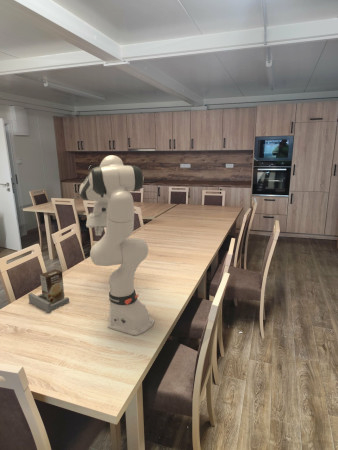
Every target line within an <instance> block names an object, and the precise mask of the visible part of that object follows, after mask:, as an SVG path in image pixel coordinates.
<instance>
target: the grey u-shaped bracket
mask: <svg viewBox="0 0 338 450" xmlns="http://www.w3.org/2000/svg"><path fill="white" fill-rule="evenodd" d="M27 295H28V302H29V303H30V305H31V304H32V305H33V306H35V307H37V308H38V309H40V310H42V311H44V312H46V313H47V314H50V313H52V311H54V310H56V309H58V308H60V307H62V306H65V305H67V304H69V303H70V298H69V297H65V298H64V299H62V300H60V301H58V302H56V303H54V304H50V303H49V302H47V301H46V300H44V299H43V297H42V293H40V294H38V295H36V294H33V292H30V293H28V294H27Z"/></svg>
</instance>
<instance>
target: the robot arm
mask: <svg viewBox="0 0 338 450" xmlns="http://www.w3.org/2000/svg"><path fill="white" fill-rule="evenodd" d="M144 179H145V178H144V173H143V171H142V168H140V167H139V166H136V165H133V164H132V165H131V164H129V165H125V164H124V162H123V160H122V159H121V158H120V157H119V156H117V155H113V154H112V155H107V156H105V157H104V158H103V159H102V161H101V162H100V164H99V165H98V166H96V167H93V168H91V170H90V172H89V173H88V175H87V176H86V177H85V179H84V180H83V182H81V184H80V186H79V190H78V191H79V192H78V193H79V196H80V197H81V198H82V200H84V201H94V204H93V210H92V211H91V212H90V213H88V215H87V219H86V222H85V223H86V224H85V226H86V228H89V229H94V231H95V236H97V237H98V236H102V233H103V231H104V229H106V230H105V232H104V234H103V236H102V237H101V238H100V239H99V240H98V241H97V242H96V243H94V244H92V247H91V249H90V251H89V257H90V259H91V261H92V263H93V264H94V265H95V266H97V267H98V266H99V267H111V266H119V267H118V268H117V269H115V270H114V271H112V272H111V273H110V275H109V278H108V280H109V281H108V283H109V290H108V291H109V292H108V298H109V309H108V310H109V311H108V318H107V321H108V322H107V327H108V329H112V330H115V331H118V332H122V333H125V334H128V335H132V336H138V335H141V334H143V333H146V331H148V330H149V329H151V328H152V327H153V325H155V319H154V318H153V317H151V316H150V313H149V310H148V308H147V307H146V305H145V304H143V303H142V302H141V301H140V299H138V298H139V296H140V294H139V293H138V294H137V292H136V290H135V274H136V271H137V269H138V267H139V265H141V263H142V262H143V261H144V260H146V259H147V257H148V254H149V245H148V243H147V241H146V240H145V239H143V238H135V237H134V238H133V237H131V235H132V234H133V232H134V227H135V226H134V225H135V201H134V198H133V195H132V193H131V192H137V191H140V190H141V189H142V188H143V185H144ZM130 237H131V238H130Z"/></svg>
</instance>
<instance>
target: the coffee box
mask: <svg viewBox="0 0 338 450" xmlns="http://www.w3.org/2000/svg"><path fill="white" fill-rule="evenodd" d="M39 277H40V278H39V279H40V285H41V286H40V287H41V294H42V297H43V299H44V300H46V301H47V302H49V303H50V304H54V303H56V302H58V301H60V300H62V299H64V298H66V297H65V289H64V288H65V287H64V278H63V271H61V270H59V269H52V270H49V271H46V272H43V273H40V274H39Z"/></svg>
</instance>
